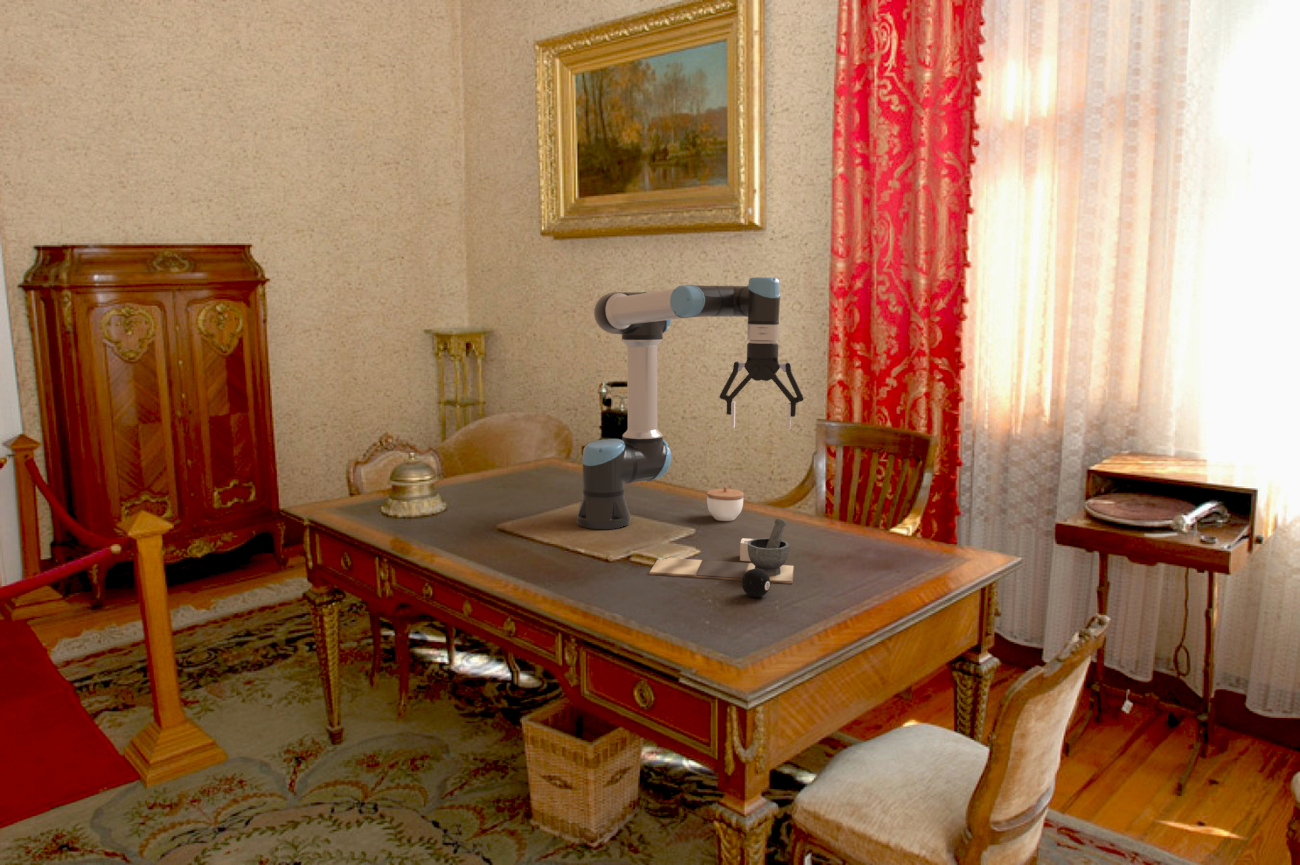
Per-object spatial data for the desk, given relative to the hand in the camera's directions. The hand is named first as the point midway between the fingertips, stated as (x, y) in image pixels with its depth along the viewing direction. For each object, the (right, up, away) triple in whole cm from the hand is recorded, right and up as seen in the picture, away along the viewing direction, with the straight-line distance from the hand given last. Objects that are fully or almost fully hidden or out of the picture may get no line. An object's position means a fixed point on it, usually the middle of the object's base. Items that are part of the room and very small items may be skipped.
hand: (760, 429), depth 221 cm
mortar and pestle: (+1, -33, -11) cm, 35 cm away
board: (-10, -33, -9) cm, 36 cm away
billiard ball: (-4, -36, -27) cm, 45 cm away
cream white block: (-2, -32, +1) cm, 32 cm away
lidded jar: (-5, -26, +41) cm, 49 cm away
